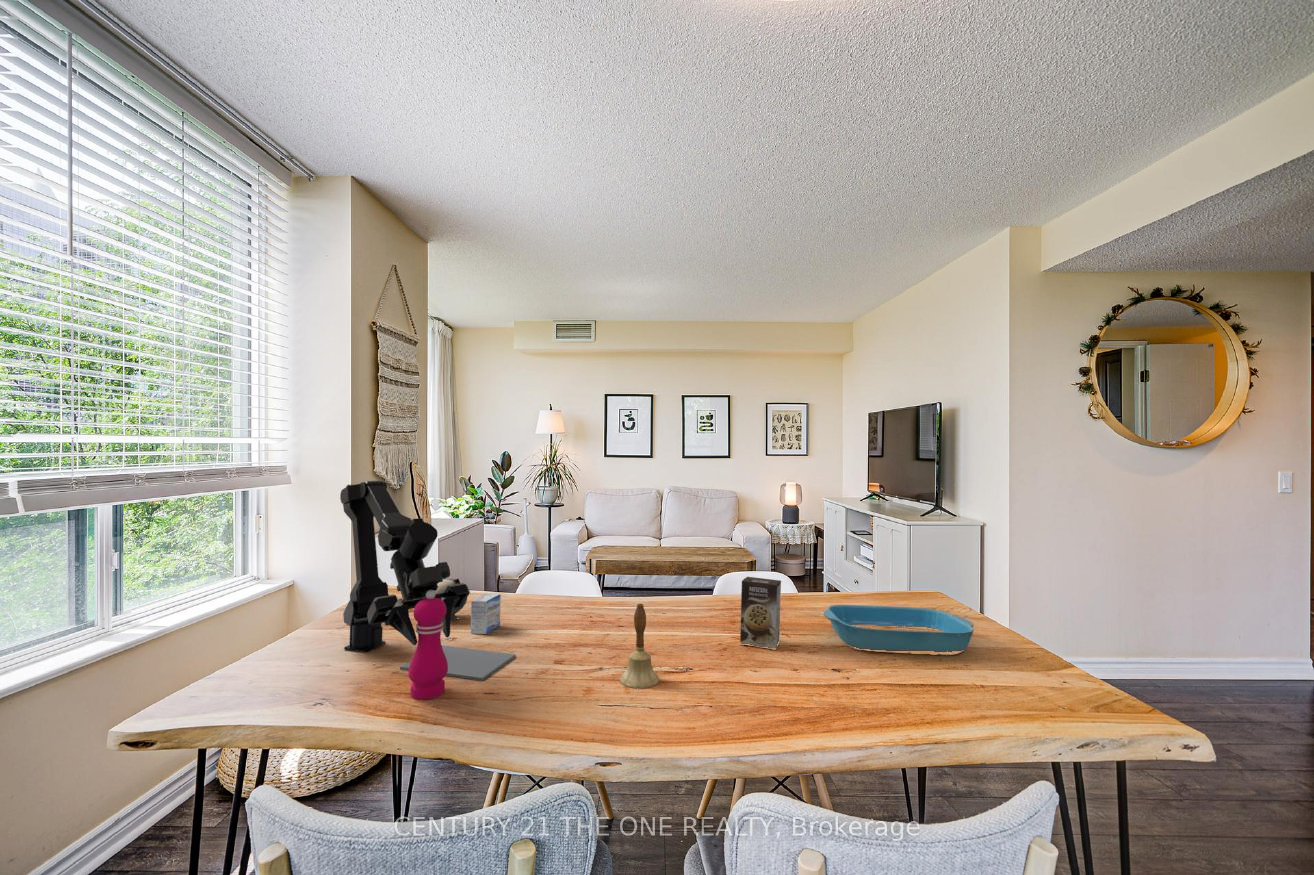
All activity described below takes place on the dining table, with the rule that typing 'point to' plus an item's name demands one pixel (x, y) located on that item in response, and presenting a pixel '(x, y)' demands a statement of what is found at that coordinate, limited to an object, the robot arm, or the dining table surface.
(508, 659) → the place mat
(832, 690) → the dining table surface
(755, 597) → the coffee box
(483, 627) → the medicine box
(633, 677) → the hand bell
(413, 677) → the magenta pepper mill
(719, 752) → the dining table surface
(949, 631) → the casserole dish
